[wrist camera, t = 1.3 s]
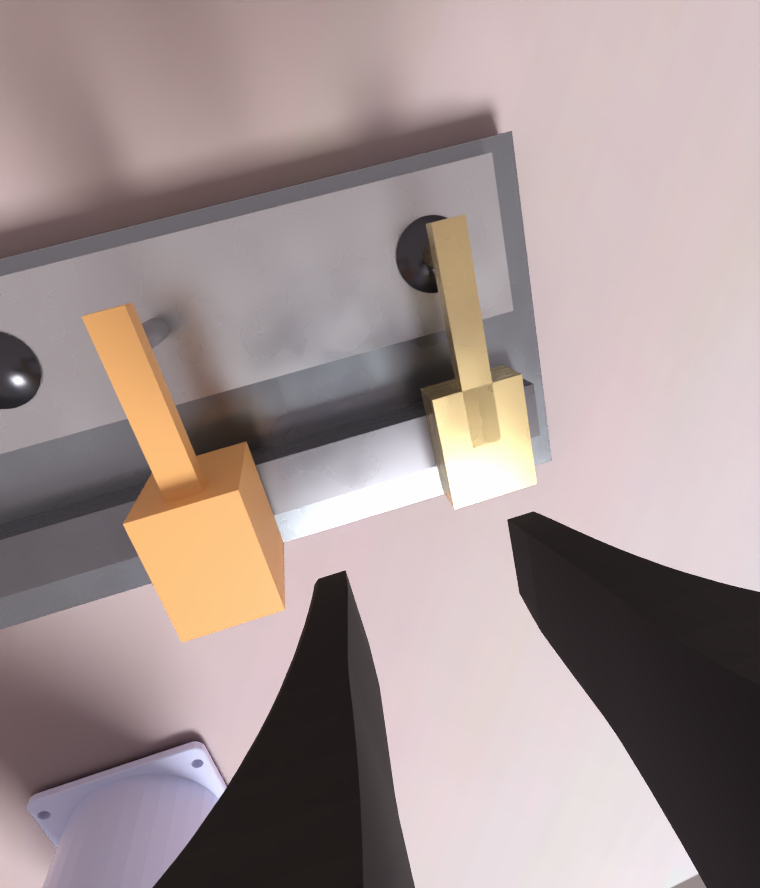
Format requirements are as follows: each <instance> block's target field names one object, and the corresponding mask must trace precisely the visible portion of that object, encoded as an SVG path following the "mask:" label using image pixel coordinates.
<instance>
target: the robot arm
mask: <svg viewBox="0 0 760 888" xmlns="http://www.w3.org/2000/svg"><path fill="white" fill-rule="evenodd" d="M508 526H509V532H510V538H511V544H512V550H513V556H514V562H515V568H516V574H517V580H518V587H519V593H520V595H521V597H522V598H523V600H524V602H525V604H526V606H527V608H528V609H529V611H530V613H531V615H532V617H533V618H534V620H535V622H536V623H537V625H538V627H539V629H540V630H541V632H542V633H543V635H544V636H545V638H546V639H547V640H548V642H549V643H550V644H551V646H552V647H553V649H554V650H555V651H556V653H557V654H558V655H559V657H560V658H561V659H562V661H563V662H564V664H565V665H566V666H567V668H568V669H569V670H570V672H571V673H572V674H573V676H574V677H575V678H576V680H577V681H578V682H579V684H580V685H581V686H582V688H583V689H584V690H585V692H586V693H587V694H588V696H589V697H590V698H591V700H592V701H593V702H594V704H595V705H596V707H597V708H598V709H599V711H600V712H601V713H602V715H603V716H604V717H605V719H606V720H607V722H608V723H609V724H610V726H611V727H612V729H613V730H614V732H615V733H616V735H617V736H618V738H619V739H620V741H621V742H622V744H623V746H624V747H625V749H626V751H627V752H628V754H629V755H630V757H631V759H632V760H633V762H634V764H635V765H636V767H637V769H638V770H639V772H640V774H641V775H642V777H643V778H644V780H645V782H646V783H647V785H648V787H649V788H650V790H651V792H652V793H653V795H654V797H655V799H656V800H657V802H658V804H659V805H660V807H661V809H662V810H663V812H664V814H665V816H666V817H667V819H668V821H669V822H670V824H671V826H672V828H673V829H674V831H675V833H676V834H677V836H678V838H679V839H680V841H681V843H682V845H683V846H684V848H685V850H686V852H687V854H688V855H689V857H690V859H691V861H692V862H693V864H694V866H695V868H696V869H697V871H698V873H699V875H700V876H701V878H702V880H703V882H704V883H705V885H706V887H707V888H760V592H757V591H753V590H748V589H743V588H739V587H735V586H731V585H727V584H723V583H720V582H716V581H713V580H709V579H706V578H702V577H699V576H695V575H692V574H688V573H685V572H682V571H678V570H675V569H672V568H669V567H666V566H663V565H660V564H658V563H655V562H652V561H649V560H647V559H644V558H641V557H638V556H636V555H633V554H631V553H628V552H625V551H623V550H620V549H618V548H615V547H613V546H611V545H608V544H606V543H603V542H601V541H599V540H596V539H594V538H592V537H590V536H587V535H585V534H583V533H581V532H578V531H576V530H574V529H572V528H569V527H567V526H565V525H563V524H561V523H558V522H556V521H554V520H552V519H550V518H547V517H545V516H543V515H541V514H538V513H536V512H530V513H527V514H524V515H521V516H517V517H514V518H511V519H508ZM197 759H199V760H197ZM27 810H28V812H29V813H30V814H31V816H32V817H33V818H34V820H35V821H36V822H37V823H38V825H39V826H40V827H41V829H42V830H43V831H44V832H45V834H46V835H47V836H48V838H49V839H50V840H51V841H52V843H53V844H54V845H55V847H56V848H57V850H56V852H55V855H54V858H53V860H52V863H51V866H50V868H49V871H48V874H47V877H46V879H45V882H44V885H43V887H42V888H415V886H414V881H413V877H412V873H411V868H410V864H409V860H408V855H407V851H406V846H405V842H404V838H403V833H402V829H401V825H400V820H399V815H398V810H397V804H396V798H395V793H394V786H393V779H392V772H391V764H390V757H389V750H388V743H387V736H386V729H385V722H384V715H383V708H382V701H381V694H380V687H379V682H378V678H377V674H376V670H375V666H374V662H373V658H372V654H371V650H370V646H369V642H368V639H367V636H366V633H365V630H364V627H363V624H362V621H361V617H360V614H359V611H358V608H357V605H356V602H355V599H354V596H353V592H352V589H351V586H350V583H349V580H348V577H347V574H346V571H342V572H339V573H336V574H333V575H329V576H326V577H323V578H320V579H318V580H317V582H316V583H315V585H314V591H313V596H312V600H311V604H310V608H309V612H308V615H307V618H306V622H305V625H304V628H303V631H302V634H301V637H300V640H299V643H298V646H297V649H296V652H295V654H294V657H293V660H292V662H291V664H290V667H289V669H288V672H287V674H286V677H285V679H284V681H283V684H282V686H281V689H280V691H279V693H278V695H277V698H276V700H275V702H274V704H273V706H272V708H271V710H270V712H269V714H268V716H267V718H266V720H265V722H264V724H263V726H262V728H261V730H260V732H259V734H258V735H257V737H256V739H255V741H254V743H253V744H252V746H251V748H250V749H249V751H248V753H247V755H246V756H245V758H244V760H243V761H242V763H241V765H240V767H239V768H238V770H237V772H236V773H235V775H234V776H233V778H232V780H231V781H230V783H229V784H228V786H226V784H225V783H224V781H223V779H222V777H221V775H220V773H219V771H218V769H217V767H216V766H215V764H214V762H213V760H212V758H211V756H210V754H209V752H208V751H207V749H206V747H205V745H204V744H203V743H201V742H197V741H194V742H190V743H187V744H184V745H181V746H178V747H175V748H172V749H169V750H166V751H163V752H160V753H157V754H154V755H151V756H148V757H145V758H142V759H139V760H136V761H133V762H130V763H127V764H124V765H121V766H118V767H115V768H112V769H109V770H106V771H103V772H100V773H97V774H94V775H91V776H88V777H85V778H82V779H79V780H76V781H73V782H70V783H67V784H64V785H61V786H58V787H55V788H52V789H49V790H46V791H43V792H40V793H37V794H35V795H33V796H32V797H31V798H30V800H29V802H28V804H27Z"/></svg>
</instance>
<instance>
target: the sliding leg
mask: <svg viewBox="0 0 760 888" xmlns="http://www.w3.org/2000/svg"><path fill="white" fill-rule="evenodd" d="M81 317H82V319H83V321H84V324H85V326H86V328H87V330H88V332H89V335H90V337H91V339H92V341H93V343H94V346H95V348H96V350H97V352H98V354H99V357H100V359H101V361H102V363H103V365H104V368H105V370H106V372H107V374H108V376H109V379H110V381H111V383H112V385H113V387H114V390H115V392H116V394H117V396H118V398H119V401H120V403H121V405H122V407H123V409H124V412H125V414H126V416H127V418H128V420H129V423H130V425H131V427H132V429H133V431H134V434H135V436H136V438H137V440H138V442H139V445H140V447H141V449H142V451H143V453H144V456H145V458H146V460H147V462H148V464H149V467H150V469H151V471H152V473H151V475H150V477H149V479H148V481H147V482H146V484H145V486H144V488H143V489H142V491H141V493H140V495H139V496H138V498H137V500H136V502H135V503H134V505H133V507H132V509H131V510H130V512H129V514H128V516H127V517H126V519H125V521H124V523H123V526H124V528H125V530H126V532H127V534H128V536H129V538H130V540H131V542H132V544H133V546H134V548H135V550H136V552H137V554H138V556H139V558H140V560H141V562H142V564H143V566H144V568H145V570H146V572H147V574H148V576H149V578H150V580H151V582H152V584H153V586H154V588H155V590H156V592H157V594H158V596H159V598H160V600H161V602H162V604H163V606H164V608H165V610H166V612H167V614H168V616H169V618H170V620H171V622H172V624H173V626H174V628H175V630H176V632H177V634H178V636H179V638H180V640H181V642H185V641H188V640H192V639H195V638H198V637H201V636H204V635H207V634H210V633H214V632H217V631H220V630H223V629H226V628H229V627H233V626H236V625H239V624H242V623H245V622H248V621H251V620H255V619H258V618H261V617H264V616H267V615H270V614H274V613H277V612H280V611H283V610H285V585H284V542H283V540H282V537H281V534H280V532H279V529H278V526H277V523H276V521H275V518H274V515H273V512H272V510H271V507H270V504H269V502H268V499H267V496H266V493H265V491H264V488H263V485H262V482H261V480H260V477H259V474H258V472H257V469H256V466H255V463H254V461H253V458H252V455H251V452H250V450H249V447H248V444H247V442H243V443H239V444H236V445H232V446H229V447H225V448H222V449H218V450H215V451H211V452H208V453H205V454H201V455H198V456H196V455H195V452H194V450H193V447H192V445H191V443H190V440H189V438H188V435H187V433H186V431H185V428H184V426H183V423H182V421H181V418H180V416H179V414H178V411H177V409H176V406H175V404H174V401H173V399H172V397H171V394H170V392H169V389H168V387H167V384H166V382H165V380H164V377H163V375H162V372H161V370H160V367H159V365H158V363H157V360H156V358H155V355H154V353H153V351H152V349H153V348H154V347H155V346H157V345H158V344H159V343H160V342H162V341H163V340H164V339H165V338H166V337H167V336H168V334H169V327H168V325H167V323H166V322H165V321H163V320H162V319H160V318H151V319H149V320H147V321H146V322H144V323H142V324H141V321H140V319H139V317H138V314H137V312H136V309H135V307H134V304H133V302H132V303H128V304H124V305H120V306H117V307H113V308H109V309H105V310H101V311H97V312H94V313H90V314H87V315H84V316H81Z"/></svg>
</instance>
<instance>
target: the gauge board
mask: <svg viewBox="0 0 760 888" xmlns="http://www.w3.org/2000/svg"><path fill="white" fill-rule="evenodd" d="M132 302H133V304H134V307H135V309H136V312H137V314H138V317H139V319H140V321H141V324H142V323H144V322H146V321H147V320H149V319H151V318H160V319H162V320H163V321H165V322H166V323H167V325H168V327H169V334H168V336H167V337H166V338H165V339H164V340H163V341H162V342H160V343H159V344H158V345H157V346H155V347H154V348H153V349H152V351H153V353H154V355H155V358H156V360H157V363H158V365H159V367H160V370H161V372H162V375H163V377H164V380H165V382H166V384H167V387H168V389H169V392H170V394H171V397H172V399H173V401H174V404H175V406H176V409H177V411H178V414H179V416H180V418H181V421H182V423H183V426H184V428H185V431H186V433H187V435H188V438H189V440H190V443H191V445H192V447H193V450H194V452H195V455H196V456H198V455H201V454H205V453H208V452H211V451H215V450H218V449H222V448H225V447H229V446H232V445H236V444H239V443H243V442H247V444H248V447H249V450H250V452H251V455H252V458H253V461H254V463H255V466H256V469H257V472H258V474H259V477H260V480H261V482H262V485H263V488H264V491H265V493H266V496H267V499H268V502H269V504H270V507H271V510H272V512H273V515H274V518H275V521H276V523H277V526H278V529H279V532H280V534H281V537H282V540H283V542H287V541H290V540H294V539H297V538H300V537H304V536H307V535H310V534H313V533H317V532H320V531H323V530H326V529H330V528H333V527H336V526H339V525H343V524H346V523H349V522H353V521H356V520H359V519H362V518H366V517H369V516H372V515H375V514H379V513H382V512H385V511H388V510H392V509H395V508H398V507H401V506H405V505H408V504H411V503H415V502H418V501H421V500H424V499H428V498H431V497H434V496H437V495H441V494H445V495H446V497H447V498H448V500H449V501H450V503H451V504H452V506H453V507H454V509H457V508H460V507H463V506H466V505H470V504H473V503H476V502H479V501H483V500H486V499H489V498H492V497H496V496H499V495H502V494H505V493H508V492H512V491H515V490H518V489H521V488H525V487H528V486H531V485H534V484H537V481H536V474H535V467H534V466H535V465H539V464H542V463H545V462H548V461H552V458H551V450H550V442H549V433H548V425H547V417H546V409H545V401H544V392H543V384H542V376H541V368H540V359H539V351H538V343H537V335H536V326H535V318H534V310H533V302H532V293H531V285H530V277H529V269H528V260H527V252H526V244H525V236H524V227H523V219H522V211H521V203H520V195H519V186H518V178H517V170H516V162H515V153H514V145H513V137H512V131H510V132H506V133H502V134H498V135H494V136H490V137H486V138H482V139H478V140H474V141H470V142H466V143H462V144H458V145H454V146H450V147H446V148H442V149H438V150H434V151H430V152H426V153H422V154H418V155H414V156H410V157H406V158H402V159H398V160H394V161H390V162H386V163H382V164H378V165H374V166H370V167H366V168H362V169H358V170H354V171H350V172H346V173H342V174H338V175H334V176H330V177H326V178H322V179H318V180H314V181H310V182H306V183H302V184H297V185H293V186H289V187H285V188H281V189H277V190H273V191H269V192H265V193H261V194H257V195H253V196H249V197H245V198H241V199H237V200H233V201H229V202H225V203H221V204H217V205H213V206H209V207H205V208H201V209H197V210H193V211H189V212H185V213H181V214H177V215H173V216H169V217H165V218H161V219H157V220H153V221H149V222H145V223H141V224H137V225H133V226H129V227H125V228H121V229H117V230H113V231H109V232H105V233H101V234H97V235H93V236H89V237H85V238H81V239H77V240H73V241H69V242H65V243H61V244H57V245H53V246H49V247H45V248H41V249H37V250H33V251H29V252H25V253H21V254H17V255H13V256H9V257H5V258H1V259H0V629H3V628H6V627H10V626H13V625H16V624H19V623H23V622H26V621H29V620H32V619H36V618H39V617H42V616H45V615H49V614H52V613H55V612H59V611H62V610H65V609H68V608H72V607H75V606H78V605H81V604H85V603H88V602H91V601H94V600H98V599H101V598H104V597H108V596H111V595H114V594H117V593H121V592H124V591H127V590H130V589H134V588H137V587H140V586H143V585H147V584H150V583H152V582H151V580H150V578H149V576H148V574H147V572H146V570H145V568H144V566H143V564H142V562H141V560H140V558H139V556H138V554H137V552H136V550H135V548H134V546H133V544H132V542H131V540H130V538H129V536H128V534H127V532H126V530H125V528H124V526H123V523H124V521H125V519H126V517H127V516H128V514H129V512H130V510H131V509H132V507H133V505H134V503H135V502H136V500H137V498H138V496H139V495H140V493H141V491H142V489H143V488H144V486H145V484H146V482H147V481H148V479H149V477H150V475H151V473H152V471H151V469H150V467H149V464H148V462H147V460H146V458H145V456H144V453H143V451H142V449H141V447H140V445H139V442H138V440H137V438H136V436H135V434H134V431H133V429H132V427H131V425H130V423H129V420H128V418H127V416H126V414H125V412H124V409H123V407H122V405H121V403H120V401H119V398H118V396H117V394H116V392H115V390H114V387H113V385H112V383H111V381H110V379H109V376H108V374H107V372H106V370H105V368H104V365H103V363H102V361H101V359H100V357H99V354H98V352H97V350H96V348H95V346H94V343H93V341H92V339H91V337H90V335H89V332H88V330H87V328H86V326H85V324H84V321H83V319H82V317H81V316H84V315H87V314H90V313H94V312H97V311H101V310H105V309H109V308H113V307H117V306H120V305H124V304H128V303H132Z"/></svg>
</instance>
